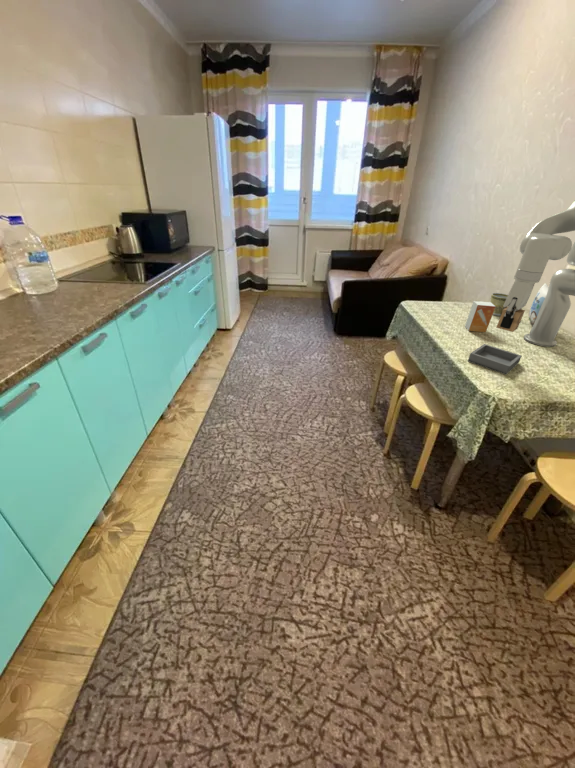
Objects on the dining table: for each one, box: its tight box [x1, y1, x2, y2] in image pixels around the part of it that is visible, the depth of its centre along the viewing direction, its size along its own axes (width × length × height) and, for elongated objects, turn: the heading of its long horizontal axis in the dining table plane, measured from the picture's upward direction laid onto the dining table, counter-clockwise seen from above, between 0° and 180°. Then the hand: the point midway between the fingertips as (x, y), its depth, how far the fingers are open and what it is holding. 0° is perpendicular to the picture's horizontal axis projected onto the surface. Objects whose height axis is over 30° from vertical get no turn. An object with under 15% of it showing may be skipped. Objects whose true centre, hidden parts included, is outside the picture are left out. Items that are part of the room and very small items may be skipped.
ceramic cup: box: [490, 292, 508, 317], centre depth 178 cm, size 13×10×10 cm
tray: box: [467, 343, 522, 376], centre depth 129 cm, size 14×14×4 cm
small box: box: [464, 300, 496, 333], centre depth 156 cm, size 8×6×13 cm
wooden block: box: [496, 306, 526, 333], centre depth 120 cm, size 6×6×7 cm
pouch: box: [527, 282, 549, 326], centre depth 159 cm, size 8×19×20 cm, turn 154°
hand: (507, 325), depth 122 cm, fingers closed on wooden block, 5 cm apart
